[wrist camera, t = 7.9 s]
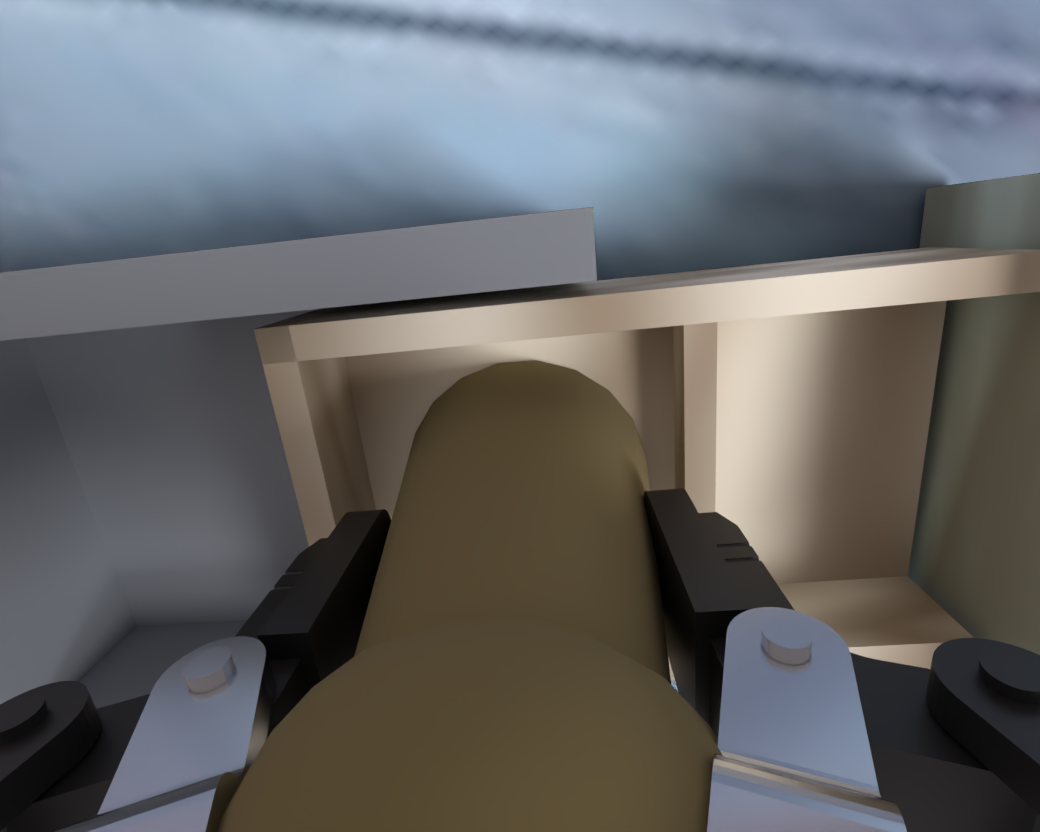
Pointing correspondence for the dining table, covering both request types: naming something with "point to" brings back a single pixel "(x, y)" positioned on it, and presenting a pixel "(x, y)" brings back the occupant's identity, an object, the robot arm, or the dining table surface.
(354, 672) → the olive tall rounded piece
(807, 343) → the drawer
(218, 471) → the grey open box
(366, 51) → the dining table surface
